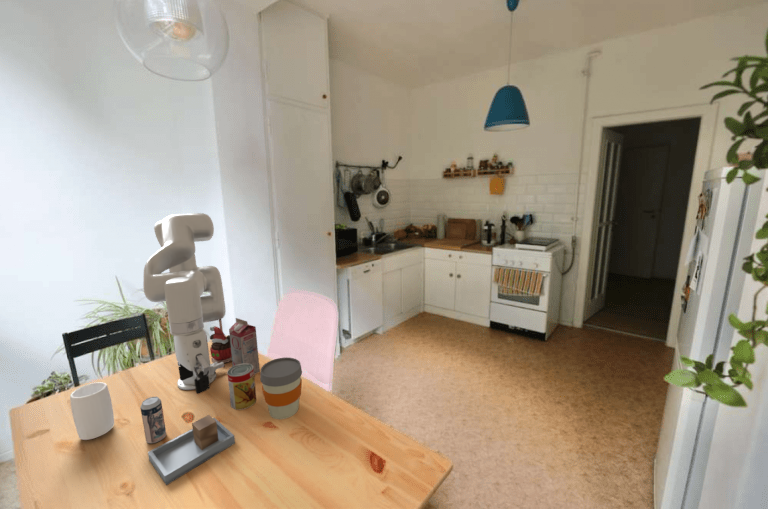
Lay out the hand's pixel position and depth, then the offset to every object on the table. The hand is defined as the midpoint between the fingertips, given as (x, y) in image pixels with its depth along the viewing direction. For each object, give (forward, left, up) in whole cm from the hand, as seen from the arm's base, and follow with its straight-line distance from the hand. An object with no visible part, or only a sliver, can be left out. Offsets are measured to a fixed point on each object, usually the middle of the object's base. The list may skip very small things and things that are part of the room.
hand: (194, 384), depth 89 cm
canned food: (-17, -8, -18) cm, 26 cm away
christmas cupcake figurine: (-27, -42, -18) cm, 53 cm away
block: (-1, +1, -17) cm, 17 cm away
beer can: (+7, -12, -18) cm, 23 cm away
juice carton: (-27, -24, -18) cm, 40 cm away
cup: (+17, -28, -18) cm, 38 cm away
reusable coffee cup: (-23, +6, -18) cm, 30 cm away
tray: (+3, +1, -18) cm, 18 cm away
